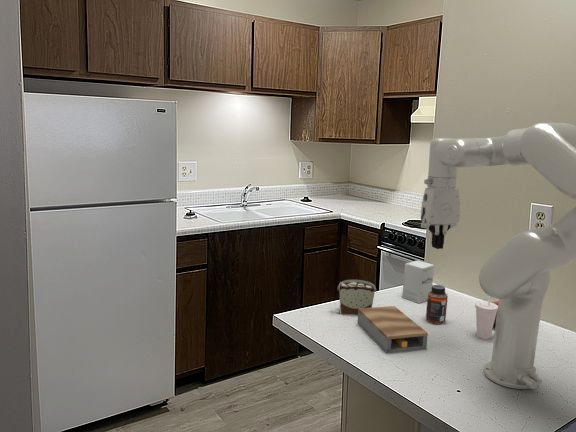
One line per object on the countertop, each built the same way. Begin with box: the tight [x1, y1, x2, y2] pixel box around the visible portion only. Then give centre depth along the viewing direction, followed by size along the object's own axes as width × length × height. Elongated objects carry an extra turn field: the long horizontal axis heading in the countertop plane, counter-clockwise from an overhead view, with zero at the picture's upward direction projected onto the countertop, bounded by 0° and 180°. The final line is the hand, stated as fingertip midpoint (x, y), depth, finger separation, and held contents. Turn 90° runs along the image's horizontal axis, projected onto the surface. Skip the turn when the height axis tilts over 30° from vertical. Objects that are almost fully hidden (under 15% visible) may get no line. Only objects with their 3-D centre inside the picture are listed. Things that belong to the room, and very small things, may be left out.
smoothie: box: [474, 295, 498, 340], centre depth 149 cm, size 6×6×14 cm
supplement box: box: [401, 259, 435, 304], centre depth 178 cm, size 7×7×13 cm
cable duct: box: [357, 311, 428, 354], centre depth 149 cm, size 20×12×4 cm, turn 15°
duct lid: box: [358, 305, 429, 339], centre depth 148 cm, size 20×12×1 cm, turn 15°
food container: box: [337, 279, 377, 317], centre depth 165 cm, size 12×6×10 cm, turn 84°
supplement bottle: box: [425, 284, 449, 325], centre depth 160 cm, size 6×6×11 cm
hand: (437, 247), depth 145 cm, fingers closed
